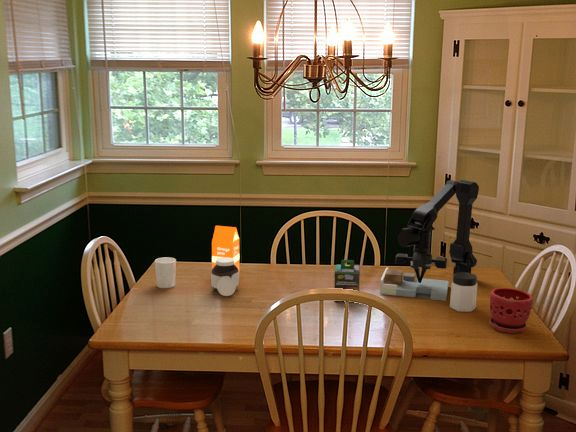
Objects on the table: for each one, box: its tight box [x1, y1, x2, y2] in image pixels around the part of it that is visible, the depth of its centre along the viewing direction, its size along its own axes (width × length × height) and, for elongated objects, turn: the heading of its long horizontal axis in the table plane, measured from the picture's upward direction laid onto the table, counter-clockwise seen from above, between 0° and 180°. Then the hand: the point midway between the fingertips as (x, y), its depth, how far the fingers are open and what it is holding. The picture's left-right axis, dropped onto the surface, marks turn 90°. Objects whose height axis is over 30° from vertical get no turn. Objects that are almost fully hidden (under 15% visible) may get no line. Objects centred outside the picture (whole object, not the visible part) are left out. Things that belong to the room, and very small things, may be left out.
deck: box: [379, 266, 449, 302], centre depth 255 cm, size 24×16×6 cm, turn 74°
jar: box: [449, 272, 478, 313], centre depth 237 cm, size 9×8×12 cm
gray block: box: [402, 272, 416, 282], centre depth 261 cm, size 4×4×4 cm
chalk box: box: [333, 259, 361, 303], centre depth 245 cm, size 9×9×15 cm
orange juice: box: [211, 225, 241, 271], centre depth 268 cm, size 8×9×20 cm
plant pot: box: [489, 287, 534, 334], centre depth 220 cm, size 13×13×12 cm
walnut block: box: [385, 268, 404, 286], centre depth 256 cm, size 6×6×4 cm
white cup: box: [154, 256, 177, 289], centre depth 255 cm, size 8×8×10 cm
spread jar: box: [210, 257, 240, 297], centre depth 250 cm, size 12×11×12 cm
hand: (419, 282), depth 254 cm, fingers closed
